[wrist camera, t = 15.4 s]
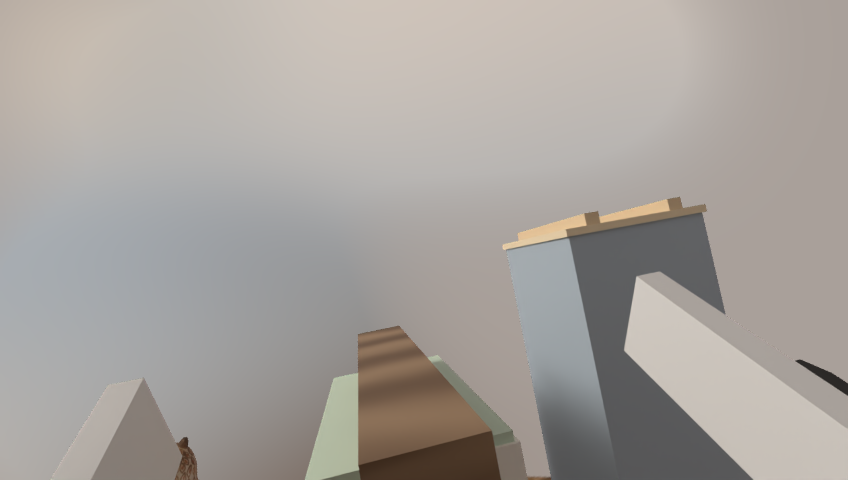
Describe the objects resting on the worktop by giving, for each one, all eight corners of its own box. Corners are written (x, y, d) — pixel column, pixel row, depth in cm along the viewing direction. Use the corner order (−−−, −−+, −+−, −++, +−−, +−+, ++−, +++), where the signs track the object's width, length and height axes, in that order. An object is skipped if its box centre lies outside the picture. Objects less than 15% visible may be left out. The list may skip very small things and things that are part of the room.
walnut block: (365, 375, 36) (358, 334, 36) (406, 366, 37) (398, 325, 37) (382, 612, 10) (358, 465, 11) (517, 568, 11) (491, 430, 11)
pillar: (564, 558, 37) (500, 236, 39) (666, 525, 39) (601, 218, 41) (661, 693, 25) (563, 217, 27) (804, 638, 27) (702, 192, 29)
